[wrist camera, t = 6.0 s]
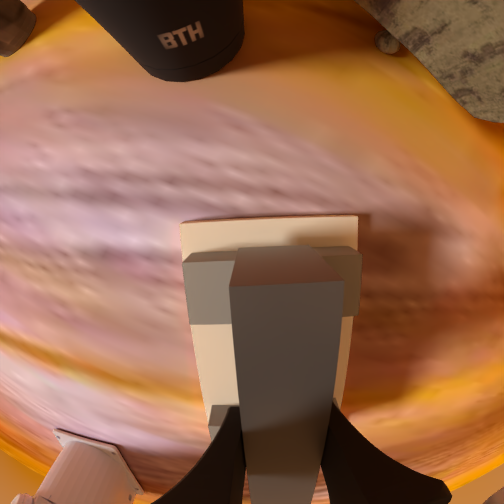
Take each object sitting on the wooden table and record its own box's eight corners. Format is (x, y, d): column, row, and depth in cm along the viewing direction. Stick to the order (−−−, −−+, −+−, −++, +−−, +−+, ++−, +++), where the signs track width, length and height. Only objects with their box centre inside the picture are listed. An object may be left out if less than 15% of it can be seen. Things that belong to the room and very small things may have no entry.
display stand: (331, 429, 18) (340, 456, 15) (214, 436, 18) (210, 464, 15) (351, 214, 15) (373, 220, 12) (183, 221, 15) (167, 229, 12)
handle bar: (298, 454, 15) (307, 514, 10) (253, 457, 15) (253, 518, 10) (308, 244, 12) (344, 280, 7) (238, 247, 12) (228, 286, 7)
